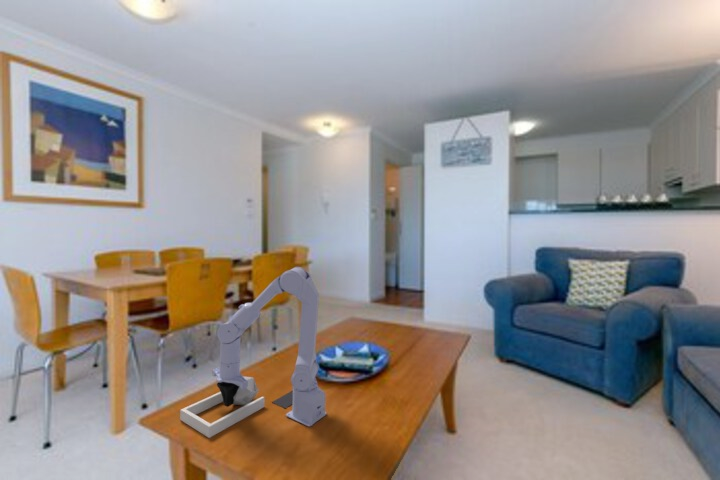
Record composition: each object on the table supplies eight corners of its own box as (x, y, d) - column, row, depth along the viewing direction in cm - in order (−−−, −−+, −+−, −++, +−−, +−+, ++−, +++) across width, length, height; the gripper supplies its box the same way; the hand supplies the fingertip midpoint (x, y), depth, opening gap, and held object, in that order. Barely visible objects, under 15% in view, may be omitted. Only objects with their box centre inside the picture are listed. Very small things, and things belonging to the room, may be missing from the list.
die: (236, 415, 97) (257, 387, 99) (216, 395, 99) (238, 368, 102) (247, 411, 104) (267, 385, 107) (229, 394, 107) (249, 368, 109)
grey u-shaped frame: (264, 406, 101) (264, 397, 101) (209, 437, 86) (209, 426, 86) (236, 393, 109) (236, 384, 109) (180, 419, 93) (180, 409, 93)
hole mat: (307, 395, 109) (307, 394, 109) (285, 408, 100) (285, 408, 100) (294, 390, 112) (294, 389, 112) (271, 402, 104) (271, 402, 104)
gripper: (203, 358, 99) (202, 402, 99) (233, 371, 91) (232, 419, 92) (224, 351, 105) (223, 393, 105) (254, 363, 97) (252, 408, 97)
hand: (228, 404), depth 99 cm, fingers closed, pressing on die
